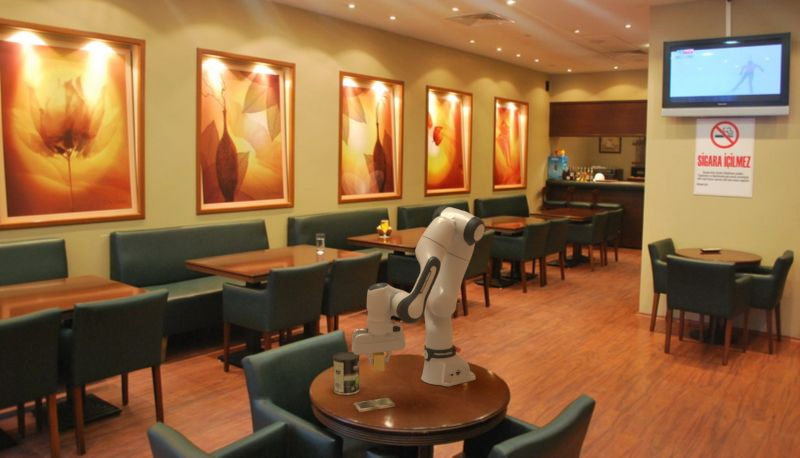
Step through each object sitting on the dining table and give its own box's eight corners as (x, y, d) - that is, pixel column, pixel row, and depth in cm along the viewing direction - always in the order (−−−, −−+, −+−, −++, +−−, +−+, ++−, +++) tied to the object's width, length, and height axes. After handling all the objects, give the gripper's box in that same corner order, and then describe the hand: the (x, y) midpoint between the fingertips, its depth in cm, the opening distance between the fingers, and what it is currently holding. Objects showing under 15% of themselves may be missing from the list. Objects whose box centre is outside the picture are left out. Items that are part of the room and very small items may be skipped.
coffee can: (362, 386, 261) (362, 352, 259) (355, 396, 251) (355, 360, 249) (337, 384, 263) (337, 350, 261) (330, 394, 253) (329, 359, 251)
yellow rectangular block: (383, 367, 246) (383, 351, 245) (384, 370, 242) (384, 355, 241) (372, 367, 245) (372, 352, 244) (373, 371, 241) (373, 355, 240)
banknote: (388, 399, 247) (388, 396, 247) (395, 406, 241) (395, 403, 241) (353, 405, 242) (353, 402, 242) (359, 412, 236) (359, 409, 236)
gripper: (354, 332, 235) (354, 369, 237) (407, 326, 242) (406, 362, 244) (349, 327, 241) (349, 363, 242) (400, 322, 248) (400, 357, 250)
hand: (378, 363), depth 243 cm, fingers closed on yellow rectangular block, 4 cm apart
